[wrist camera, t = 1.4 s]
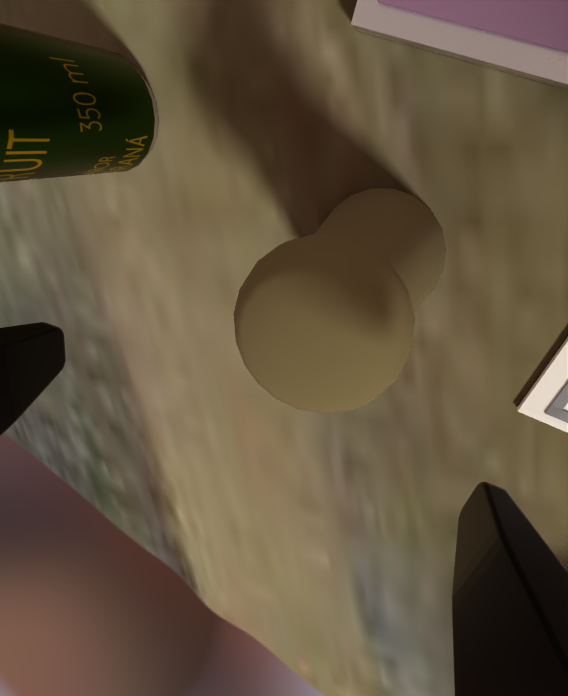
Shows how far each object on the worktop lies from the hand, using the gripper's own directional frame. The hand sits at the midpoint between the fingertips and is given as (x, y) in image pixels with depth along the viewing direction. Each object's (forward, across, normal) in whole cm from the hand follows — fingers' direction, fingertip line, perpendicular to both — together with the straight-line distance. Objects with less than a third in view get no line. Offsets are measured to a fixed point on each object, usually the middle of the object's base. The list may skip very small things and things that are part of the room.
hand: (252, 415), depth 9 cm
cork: (+14, -1, 0) cm, 14 cm away
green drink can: (+15, +14, -3) cm, 21 cm away
